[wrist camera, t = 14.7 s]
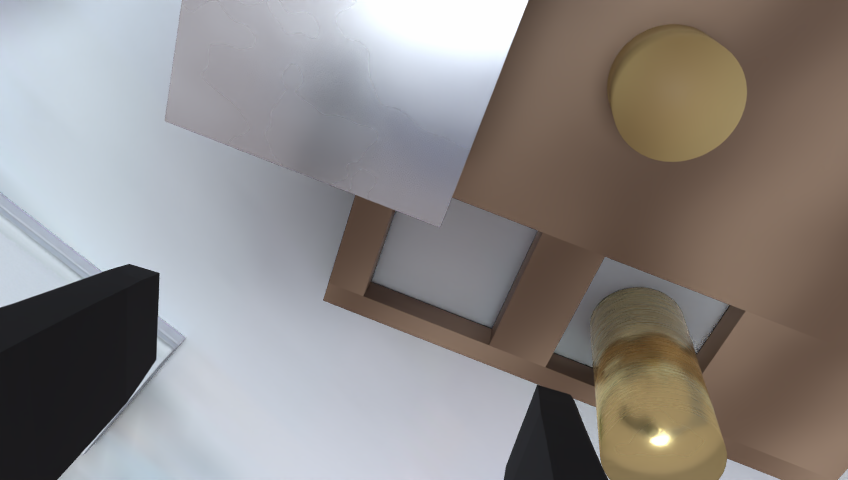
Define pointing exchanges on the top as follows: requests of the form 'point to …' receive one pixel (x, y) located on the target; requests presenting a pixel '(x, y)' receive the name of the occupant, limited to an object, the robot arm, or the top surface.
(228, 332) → the top surface
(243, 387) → the top surface
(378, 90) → the housing
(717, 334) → the board
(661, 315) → the pin
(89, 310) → the robot arm
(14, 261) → the hard drive
